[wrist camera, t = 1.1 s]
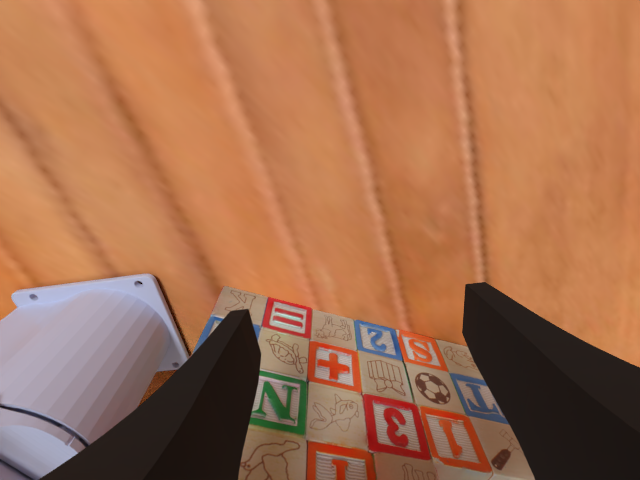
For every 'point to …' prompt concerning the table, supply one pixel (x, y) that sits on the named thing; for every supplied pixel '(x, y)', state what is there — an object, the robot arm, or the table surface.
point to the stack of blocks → (365, 402)
